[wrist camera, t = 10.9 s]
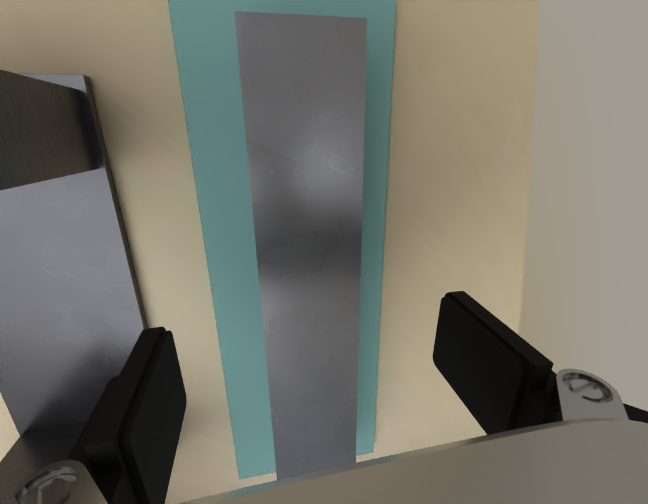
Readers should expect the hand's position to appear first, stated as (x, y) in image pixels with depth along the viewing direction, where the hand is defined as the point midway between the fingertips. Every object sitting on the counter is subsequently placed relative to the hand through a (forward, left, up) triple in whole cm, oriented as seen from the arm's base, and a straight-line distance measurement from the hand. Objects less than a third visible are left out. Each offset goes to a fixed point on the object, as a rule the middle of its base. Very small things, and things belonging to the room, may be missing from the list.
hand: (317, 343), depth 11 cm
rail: (+1, 0, -6) cm, 6 cm away
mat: (+1, 0, -7) cm, 7 cm away
